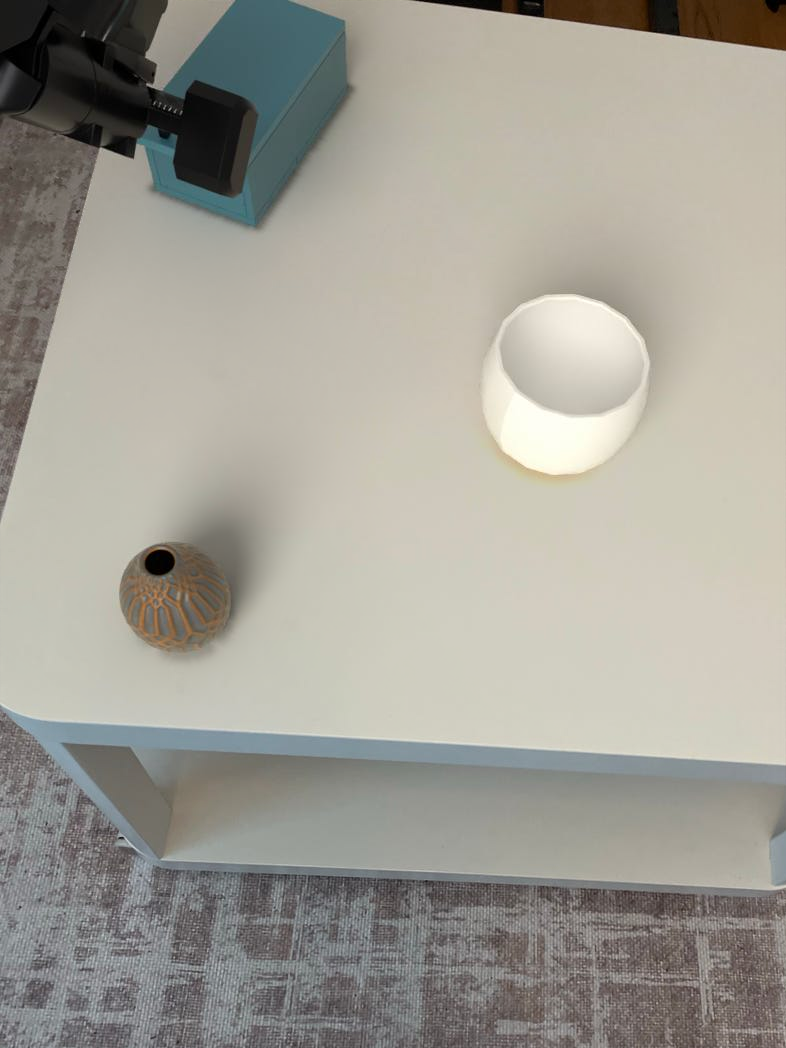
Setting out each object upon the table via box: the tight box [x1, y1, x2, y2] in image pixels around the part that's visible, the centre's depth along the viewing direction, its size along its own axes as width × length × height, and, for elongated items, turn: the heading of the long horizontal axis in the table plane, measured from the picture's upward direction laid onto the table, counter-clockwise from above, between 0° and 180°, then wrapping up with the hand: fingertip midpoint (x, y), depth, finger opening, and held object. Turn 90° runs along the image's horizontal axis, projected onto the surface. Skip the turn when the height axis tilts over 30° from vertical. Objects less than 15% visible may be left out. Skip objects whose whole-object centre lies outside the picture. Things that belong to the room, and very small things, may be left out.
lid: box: [136, 0, 346, 168], centre depth 75 cm, size 21×9×4 cm, turn 159°
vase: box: [118, 541, 232, 654], centre depth 59 cm, size 7×7×9 cm
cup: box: [478, 293, 652, 476], centre depth 68 cm, size 12×12×10 cm
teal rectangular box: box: [144, 30, 348, 227], centre depth 79 cm, size 19×9×6 cm, turn 159°
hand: (177, 129), depth 69 cm, fingers open, 9 cm apart
